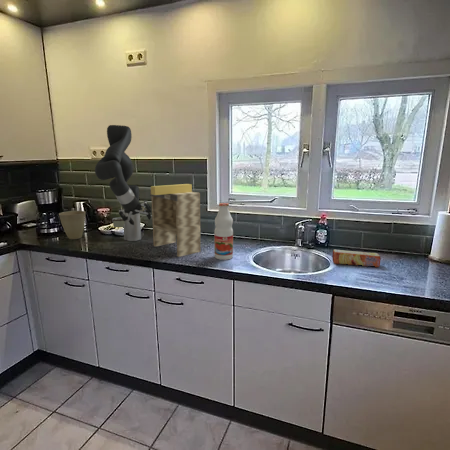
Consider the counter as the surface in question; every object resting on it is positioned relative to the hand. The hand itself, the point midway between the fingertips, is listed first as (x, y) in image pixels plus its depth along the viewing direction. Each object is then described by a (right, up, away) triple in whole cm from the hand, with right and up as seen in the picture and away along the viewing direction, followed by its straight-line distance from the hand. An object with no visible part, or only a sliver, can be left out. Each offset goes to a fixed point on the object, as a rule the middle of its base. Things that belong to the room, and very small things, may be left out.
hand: (141, 221), depth 156 cm
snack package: (+105, -21, -2) cm, 107 cm away
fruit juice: (+41, -19, +6) cm, 45 cm away
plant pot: (-53, -10, +42) cm, 68 cm away
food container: (-27, -7, +56) cm, 62 cm away
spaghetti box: (+14, +15, +6) cm, 21 cm away
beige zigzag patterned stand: (+14, -15, +20) cm, 29 cm away
